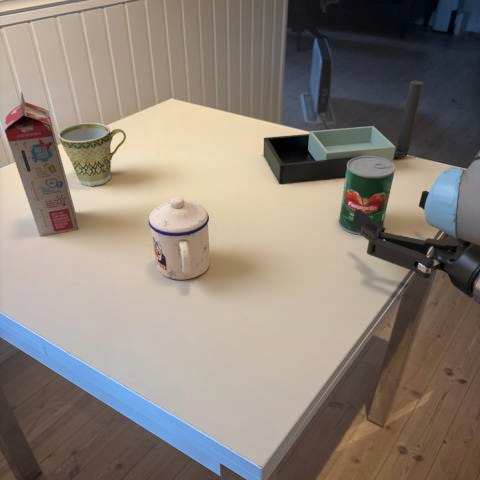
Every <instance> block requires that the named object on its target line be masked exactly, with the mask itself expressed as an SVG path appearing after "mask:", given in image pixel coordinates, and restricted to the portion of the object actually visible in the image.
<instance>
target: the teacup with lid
mask: <svg viewBox="0 0 480 480" xmlns="http://www.w3.org/2000/svg"><path fill="white" fill-rule="evenodd" d="M209 221H210V215H209V213H208V211H207V210H206V209H205V207H204V206H203V205H201V204H199V203H197V202H193V201H190V200H189V201H188V200H184V199H183V198H182V197H180V196H175V197H173V198H171V199H170V201H168V202H165V203H162V204H160V205H158V206H156V207H155V208H154V209H152V211H151V212H150V214H149V217H148V226H149V227H150V231H151V237H152V243H153V250H154V255H155V257H154V258H155V262H156V268H157V271H158V272H159V273H160V274H161V275H162V276H164V277H166V278H169V279H173V280H182V281H184V280H191V279H194V278H197V277H200V276H201V275H203V274H204V273H205V272H206V271H207V270H208V269H209V268H210V265H211V254H210V253H211V252H210V238H209Z"/></svg>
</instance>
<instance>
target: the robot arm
mask: <svg viewBox="0 0 480 480" xmlns="http://www.w3.org/2000/svg"><path fill="white" fill-rule="evenodd" d="M418 207H419V208H421V209H422V210H423V212H424V218H425V221H426V223H427V224H428V225H429V226H431V227H433V228H435V229H437V230H439V231H441V232H443V233H445V234H447V235H448V236H446V237H444V238H438V239H435V238H429V237H427V238H425V239H419V238H415V237H410V236H405V235H400V234H395V233H390V232H385V230H386V227H384V226H383V227H382V226H381V225H380V224H378V223H377V222H376V221H374V220H373V219H372V218H370V217H369V216H367V215H366V214H365V213H363V212H362V211H361V210H359V209H357V210H355V212H354V218H353V224H352V225H353V226H354V227H355V228H357V229H358V230H359V231H360V232H361V235H360V236H361V237H363V238H365V240H367V241H368V243H367V248H366V254H367V255H369V256H372V257H374V258H377V259H380V260H382V261H385V262H388V263H391V264H393V265H395V266H398V267H402V268H404V269H407V270H409V271H412V272H414V273H416V274H417V275H419V276H420V277H422V278H424V279H430V277H431V276H432V275H431V274H432V272H435V271H436V270H439V271H442V272H444V273H446V274H447V276H448V277H449V280H450V283H451V284H452V285H453V286H454V287H455V288H457V290H459V291H460V292H462V293H463V294H465V295H466V297H469V298H471V299H473V300H474V301H475V302H476V303H477V304H478V305H480V149H479V150H478V151H477V153H476V154H475V156H474V158H473V160H472V162H471V163H470V165H469V166H468V168H466V169H464V168H457V167H449V168H446V169H444V171H443V172H442V173H441V174H440V175H438V176H437V178H436V179H435V180H434V182H433V184H432V186H431V188H430V190H429V191H428V190H423V191H422V192H421V196H420V200H419V203H418ZM430 247H432V248H431V251H430V252H431V253H430V254H431V255H430V254H428V252H429V249H430Z"/></svg>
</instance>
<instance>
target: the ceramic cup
mask: <svg viewBox="0 0 480 480" xmlns="http://www.w3.org/2000/svg"><path fill="white" fill-rule="evenodd" d="M119 133H121V134H123V138H122V140H121V141H120V142H119V144H117V146H116V147H115V149H114V150H113V151H111V150H112V149H111V145H112V141H113V138H114V136H115V135H117V134H119ZM57 134H58V135H57V136H58V139H59V142H60V144H61V146H62V148H63V150H64V153H65V154H66V156H67V157H68V159H69V161H70V164H71V165H72V168H73V170H74V172H75V175H76V177H77V180H78V182H79V183H80V185H82V186H87V185H88V187H94V186H95V185H96V186H100V185H104V184H106V183H108V181H110V180H111V179H112V169H111V168H112V159H113V156H114V155H115V154H116V153H117V151H118V150H119V148H120V147H121V146H122V145H123V144H125V142H126V139H127V135H126V132H125V131H124V130H123V129H121V128H116V129H115V128H114V129H113V130H112V131H111V128H110V126H108V125H106V124H103V123H100V122H82V123H81V122H80V123H75V124H71V125H69V126H66V127H64V128H62V129H61V130H59V132H58V133H57Z"/></svg>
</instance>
